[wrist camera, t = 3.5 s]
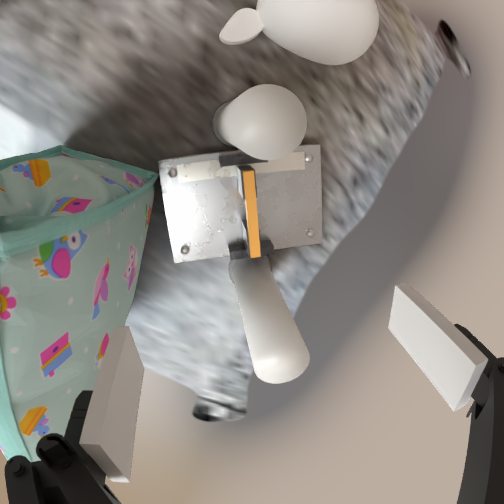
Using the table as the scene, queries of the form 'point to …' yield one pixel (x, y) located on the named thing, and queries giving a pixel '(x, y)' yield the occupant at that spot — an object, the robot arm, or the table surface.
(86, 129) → the table surface
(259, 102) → the off-white domed rod
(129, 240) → the lunch bag
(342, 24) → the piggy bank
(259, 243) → the orange-faced thin slab
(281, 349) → the white tapered rounded cylinder
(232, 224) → the plate
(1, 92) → the table surface
